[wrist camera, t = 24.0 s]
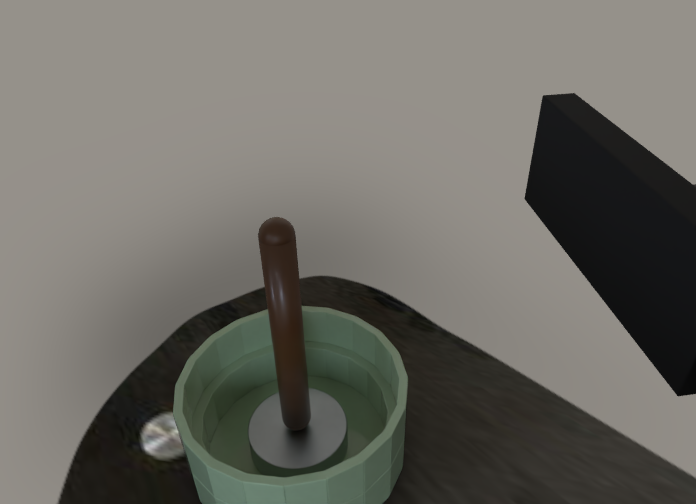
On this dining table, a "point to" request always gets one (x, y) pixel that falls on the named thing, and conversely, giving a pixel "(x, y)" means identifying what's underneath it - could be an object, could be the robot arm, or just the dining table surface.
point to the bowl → (261, 382)
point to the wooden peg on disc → (291, 375)
